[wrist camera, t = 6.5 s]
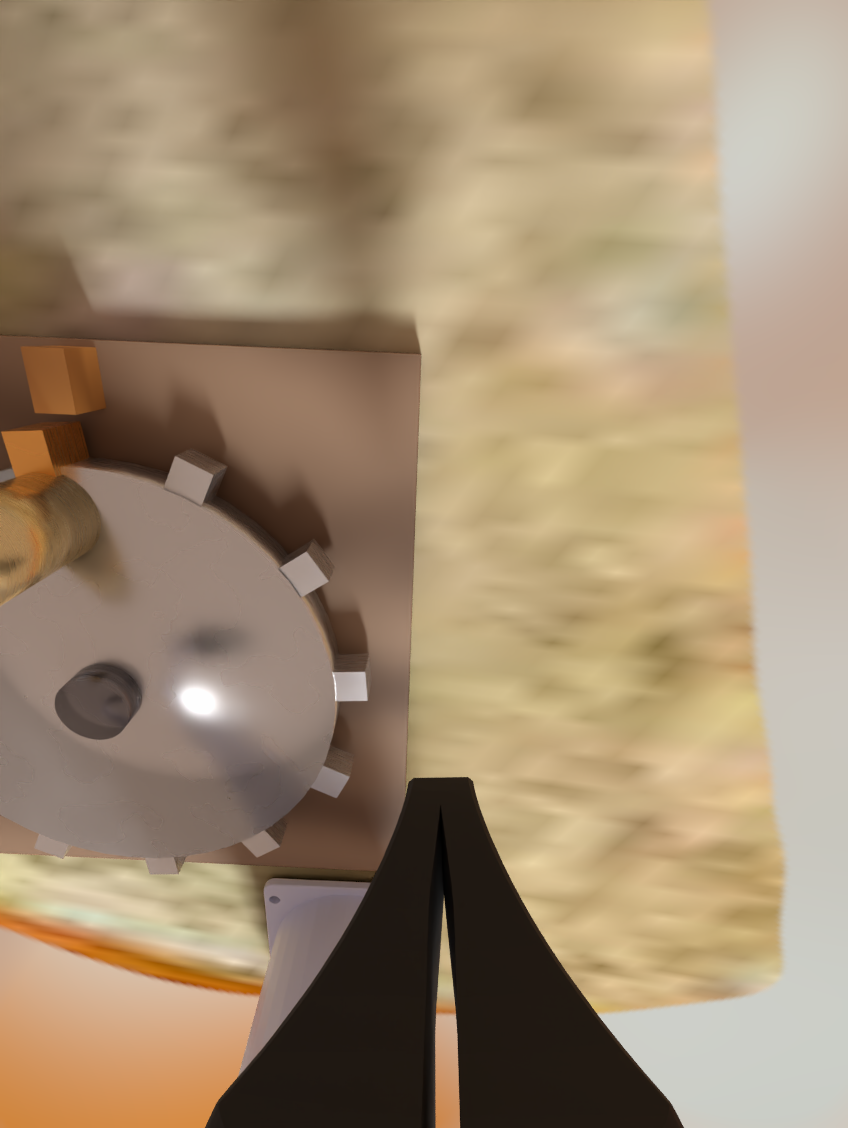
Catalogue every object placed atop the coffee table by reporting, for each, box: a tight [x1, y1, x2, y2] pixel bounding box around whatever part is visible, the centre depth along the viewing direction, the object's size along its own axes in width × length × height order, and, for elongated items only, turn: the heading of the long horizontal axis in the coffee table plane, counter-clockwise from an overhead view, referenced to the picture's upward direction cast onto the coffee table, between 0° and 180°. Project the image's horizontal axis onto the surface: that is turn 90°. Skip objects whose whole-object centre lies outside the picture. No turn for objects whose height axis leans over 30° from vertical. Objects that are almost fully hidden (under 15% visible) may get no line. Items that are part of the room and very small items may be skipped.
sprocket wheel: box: [0, 421, 371, 874], centre depth 18 cm, size 18×18×6 cm
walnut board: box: [0, 335, 421, 871], centre depth 21 cm, size 22×21×2 cm
